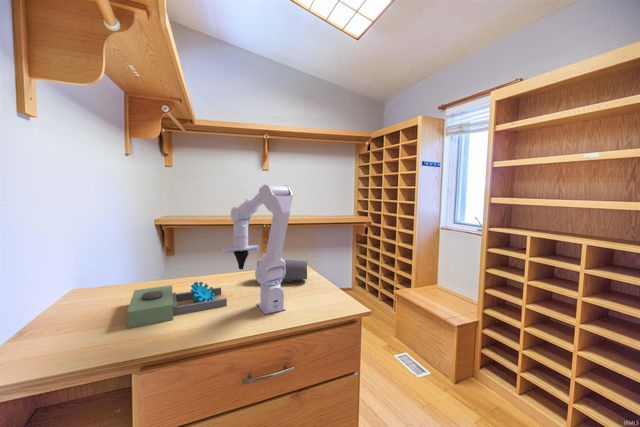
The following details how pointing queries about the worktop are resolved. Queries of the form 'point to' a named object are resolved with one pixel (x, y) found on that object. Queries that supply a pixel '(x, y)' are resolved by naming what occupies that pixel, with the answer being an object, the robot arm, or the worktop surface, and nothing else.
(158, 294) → the green block with rails
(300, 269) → the bluetooth speaker
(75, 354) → the worktop surface
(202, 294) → the gear
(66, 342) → the worktop surface
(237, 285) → the worktop surface
